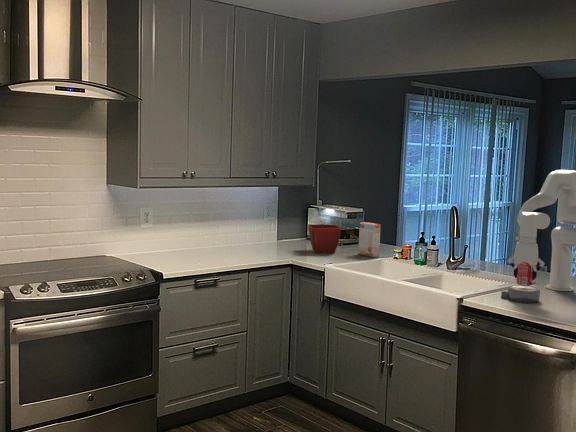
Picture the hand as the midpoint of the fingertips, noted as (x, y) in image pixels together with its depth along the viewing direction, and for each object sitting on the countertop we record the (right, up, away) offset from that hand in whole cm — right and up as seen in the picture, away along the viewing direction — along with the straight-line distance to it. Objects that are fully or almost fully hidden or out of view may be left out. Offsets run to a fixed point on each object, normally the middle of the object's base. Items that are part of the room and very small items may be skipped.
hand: (524, 278), depth 293 cm
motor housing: (-2, -10, +2) cm, 10 cm away
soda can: (0, -3, 0) cm, 3 cm away
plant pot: (-86, +5, +124) cm, 151 cm away
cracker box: (-58, +3, +113) cm, 127 cm away
